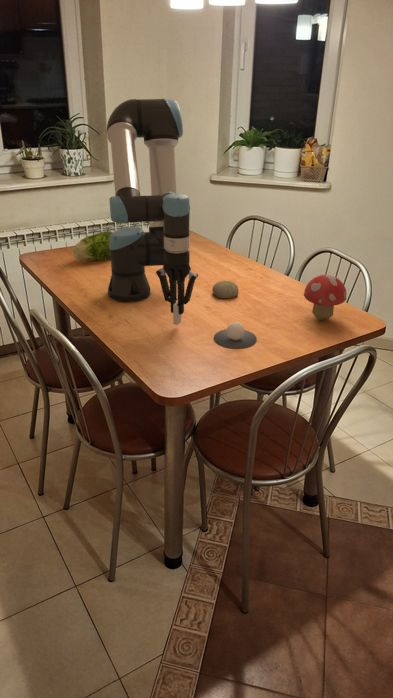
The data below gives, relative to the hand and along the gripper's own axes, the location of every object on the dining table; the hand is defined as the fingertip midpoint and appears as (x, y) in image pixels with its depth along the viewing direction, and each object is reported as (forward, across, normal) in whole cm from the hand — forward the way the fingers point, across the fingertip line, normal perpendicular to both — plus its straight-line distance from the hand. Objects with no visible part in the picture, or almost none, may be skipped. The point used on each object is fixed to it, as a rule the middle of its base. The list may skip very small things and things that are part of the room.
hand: (177, 322), depth 165 cm
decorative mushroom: (+2, +41, +24) cm, 48 cm away
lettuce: (+2, -57, +47) cm, 74 cm away
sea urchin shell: (+2, +5, +32) cm, 32 cm away
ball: (-1, +19, 0) cm, 19 cm away
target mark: (+2, +19, 0) cm, 19 cm away
